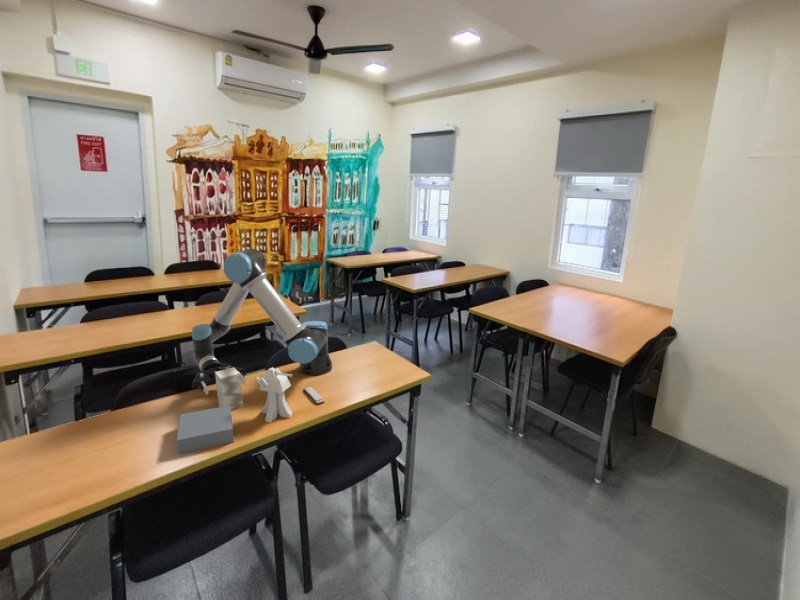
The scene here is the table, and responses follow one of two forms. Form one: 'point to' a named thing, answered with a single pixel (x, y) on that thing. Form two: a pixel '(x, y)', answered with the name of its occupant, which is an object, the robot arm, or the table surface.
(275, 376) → the white mech figurine
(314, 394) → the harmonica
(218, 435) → the slate plinth
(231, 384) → the tall block
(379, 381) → the table surface
